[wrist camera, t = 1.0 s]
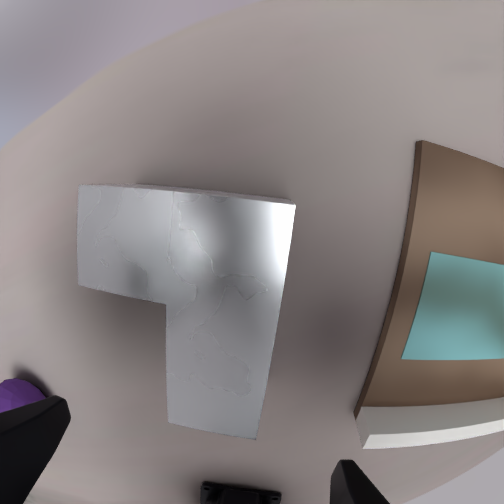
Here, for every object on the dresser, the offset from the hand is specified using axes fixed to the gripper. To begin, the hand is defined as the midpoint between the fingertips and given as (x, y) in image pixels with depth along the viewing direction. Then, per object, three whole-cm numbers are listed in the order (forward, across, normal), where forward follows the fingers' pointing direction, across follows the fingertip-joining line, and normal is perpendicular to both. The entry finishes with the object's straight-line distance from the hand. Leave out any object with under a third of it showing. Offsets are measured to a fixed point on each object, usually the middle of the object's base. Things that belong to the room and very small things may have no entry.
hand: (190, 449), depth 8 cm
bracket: (+9, +2, -2) cm, 9 cm away
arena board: (+9, -16, -3) cm, 18 cm away
